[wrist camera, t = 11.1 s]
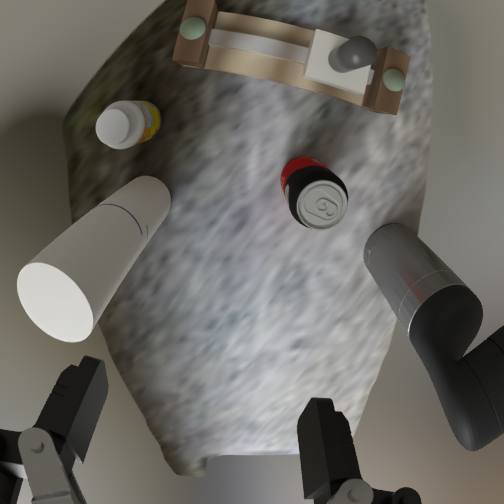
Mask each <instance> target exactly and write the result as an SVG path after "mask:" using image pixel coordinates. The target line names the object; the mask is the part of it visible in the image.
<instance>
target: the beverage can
mask: <svg viewBox="0 0 504 504" xmlns="http://www.w3.org/2000/svg"><path fill="white" fill-rule="evenodd" d="M281 187H282V190H283V192H284V195H285V198H286V200H287V203H288V206H289V209H290V211H291V213H292V215H293V217H294V218H295V219H296V220H297V221H298V222H299V223H300V224H302V225H303V226H305V227H308V228H311V229H315V230H327V229H330V228H333V227H334V226H336V225H337V224H339V223H340V222H341V221H342V219H343V218H344V216H345V214H346V212H347V207H348V193H347V189H346V187H345V185H344V183H343V182H342V180H341V179H340V178H339V177H338V176H336V175H335V174H334V173H333V172H332V171H330V170H329V169H328V168H327V167H326V166H324V165H323V164H322V163H321V162H320V161H318V160H316V159H314V158H312V157H298V158H295V159H293V160H292V161H290V162H289V163H288V164H287V165H286V166H285V167H284V169H283V171H282V174H281Z"/></svg>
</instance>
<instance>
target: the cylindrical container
mask: <svg viewBox="0 0 504 504" xmlns="http://www.w3.org/2000/svg"><path fill="white" fill-rule="evenodd" d="M170 207H171V196H170V193H169V190H168V188H167V187H166V186H165V184H164V183H163V182H162V181H160V180H159V179H157V178H155V177H152V176H140V177H137V178H135V179H134V180H132V181H131V182H129V183H128V184H126V185H125V186H123V187H122V188H121V189H119V190H118V191H116V192H115V193H114V194H112V195H111V196H110V197H108V198H107V199H106V200H104V201H103V202H101V203H100V204H99V205H97V206H96V207H95V208H94V209H92V210H91V211H90V212H88V213H87V214H86V215H84V216H83V217H82V218H81V219H79V220H78V221H77V222H76V223H74V224H73V225H72V226H71V227H69V228H68V229H67V230H66V231H65V232H63V233H62V234H61V235H60V236H58V237H57V238H56V239H55V240H54V241H53V242H51V244H49V245H48V246H47V247H46V248H44V249H43V250H42V251H41V252H40V253H39V254H38V255H37V256H35V257H34V258H33V259H32V260H31V261H30V262H29V263H28V264H27V265H26V266H25V267H24V268H23V269H22V270H21V271H20V273H19V276H18V281H17V288H18V289H17V290H18V295H19V299H20V301H21V303H22V305H23V308H24V309H25V311H26V313H27V314H28V316H29V317H30V318H31V320H32V321H33V322H34V323H35V324H36V325H37V326H38V327H39V328H40V329H42V330H43V331H44V332H46V333H47V334H49V335H50V336H52V337H54V338H56V339H59V340H62V341H66V342H79V341H82V340H84V339H85V338H87V337H88V336H89V334H90V333H91V331H92V330H93V328H94V326H95V324H96V323H97V321H98V319H99V318H100V316H101V314H102V313H103V311H104V309H105V308H106V306H107V304H108V303H109V301H110V300H111V298H112V296H113V295H114V293H115V292H116V290H117V288H118V287H119V285H120V284H121V282H122V280H123V279H124V277H125V276H126V274H127V273H128V271H129V270H130V268H131V267H132V265H133V263H134V262H135V260H136V259H137V257H138V256H139V254H140V253H141V251H142V250H143V249H144V247H145V246H146V244H147V243H148V241H149V240H150V238H151V237H152V235H153V234H154V233H155V231H156V230H157V228H158V227H159V225H160V224H161V223H162V221H163V220H164V218H165V217H166V216H167V214H168V212H169V210H170Z"/></svg>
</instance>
